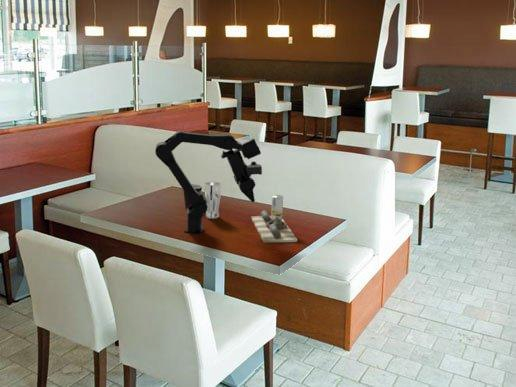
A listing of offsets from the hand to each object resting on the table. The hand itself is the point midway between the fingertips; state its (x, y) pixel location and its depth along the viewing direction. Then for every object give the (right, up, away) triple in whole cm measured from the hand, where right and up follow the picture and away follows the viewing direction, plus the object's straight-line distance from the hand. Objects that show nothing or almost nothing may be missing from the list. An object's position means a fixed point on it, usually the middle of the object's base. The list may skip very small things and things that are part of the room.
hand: (251, 198), depth 233 cm
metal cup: (+10, -12, +5) cm, 16 cm away
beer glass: (-17, -8, +19) cm, 27 cm away
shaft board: (+9, -13, +5) cm, 16 cm away
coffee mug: (-29, -5, +31) cm, 43 cm away
